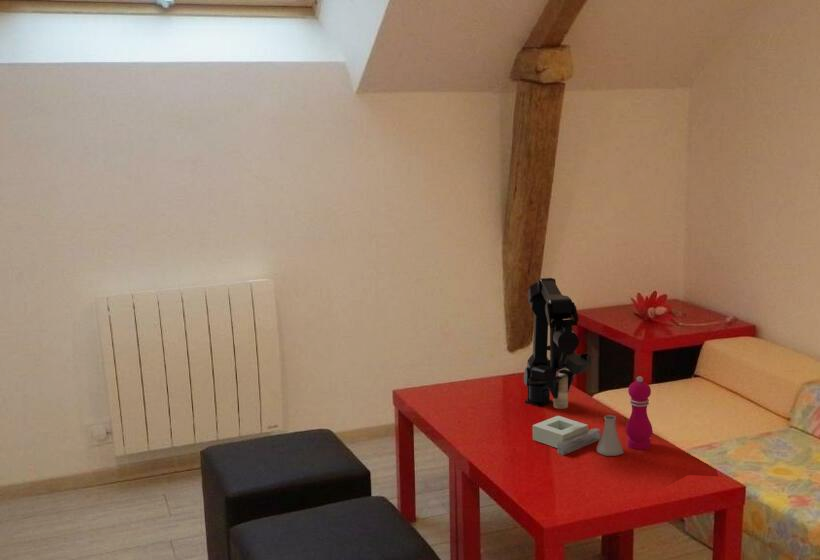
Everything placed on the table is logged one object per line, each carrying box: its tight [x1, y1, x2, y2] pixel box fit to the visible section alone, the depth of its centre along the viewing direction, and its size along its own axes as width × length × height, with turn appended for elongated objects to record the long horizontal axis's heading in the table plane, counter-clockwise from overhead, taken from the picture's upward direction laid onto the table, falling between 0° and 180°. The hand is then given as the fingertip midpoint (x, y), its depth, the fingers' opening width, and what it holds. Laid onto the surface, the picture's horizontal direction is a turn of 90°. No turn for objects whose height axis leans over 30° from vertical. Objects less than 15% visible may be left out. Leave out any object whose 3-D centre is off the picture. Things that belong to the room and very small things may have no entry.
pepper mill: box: [625, 375, 654, 451], centre depth 244 cm, size 7×7×20 cm
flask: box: [596, 414, 624, 457], centre depth 242 cm, size 7×7×10 cm
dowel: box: [553, 373, 569, 410], centre depth 249 cm, size 4×4×9 cm
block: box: [532, 415, 589, 449], centre depth 251 cm, size 11×11×4 cm
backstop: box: [556, 427, 601, 456], centre depth 247 cm, size 2×16×3 cm, turn 130°
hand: (560, 396), depth 249 cm, fingers closed on dowel, 4 cm apart
